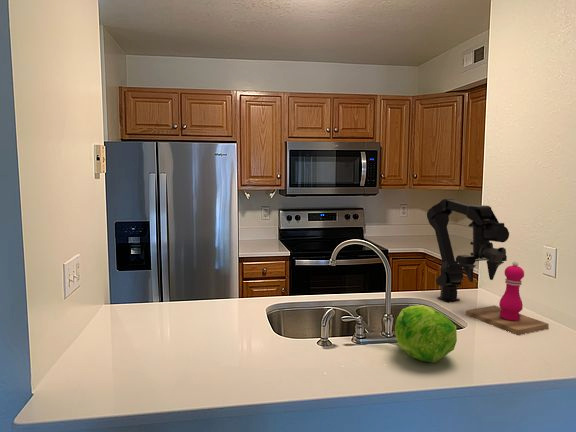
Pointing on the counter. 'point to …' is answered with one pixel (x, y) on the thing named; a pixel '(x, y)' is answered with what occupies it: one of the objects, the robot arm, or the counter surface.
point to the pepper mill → (512, 293)
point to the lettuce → (425, 333)
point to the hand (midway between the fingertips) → (481, 281)
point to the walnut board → (517, 327)
